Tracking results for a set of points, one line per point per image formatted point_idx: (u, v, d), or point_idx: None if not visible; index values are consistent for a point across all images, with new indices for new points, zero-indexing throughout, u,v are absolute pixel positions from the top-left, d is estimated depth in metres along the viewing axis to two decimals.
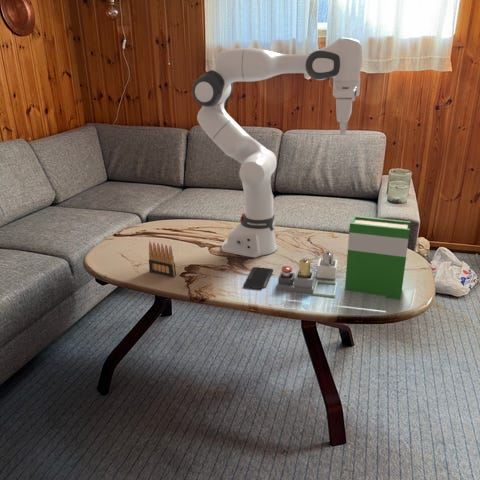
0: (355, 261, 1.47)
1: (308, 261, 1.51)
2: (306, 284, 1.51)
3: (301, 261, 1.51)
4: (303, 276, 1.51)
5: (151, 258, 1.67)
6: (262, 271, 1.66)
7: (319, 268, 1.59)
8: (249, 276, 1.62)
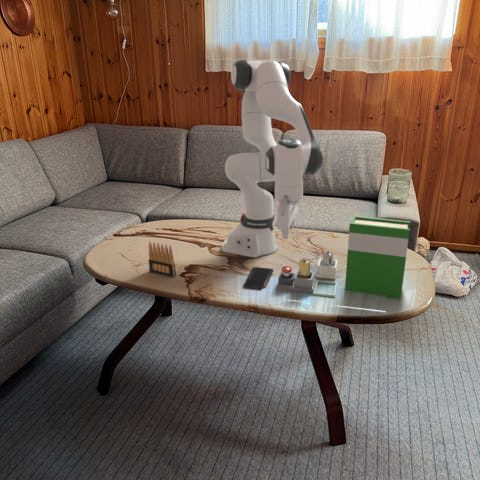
0: (355, 261, 1.47)
1: (308, 261, 1.51)
2: (306, 284, 1.51)
3: (301, 261, 1.51)
4: (303, 276, 1.51)
5: (151, 258, 1.67)
6: (262, 271, 1.66)
7: (319, 268, 1.59)
8: (249, 276, 1.62)
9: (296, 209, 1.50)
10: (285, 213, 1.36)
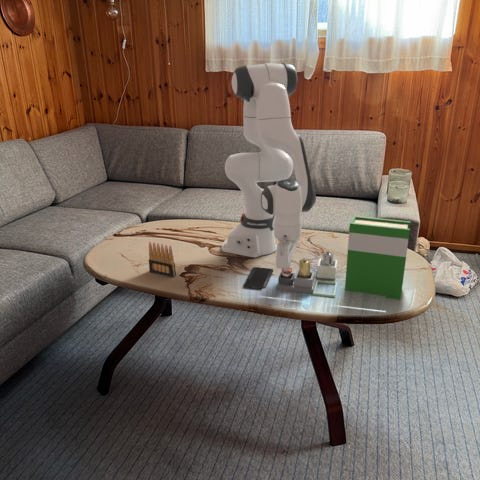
0: (355, 261, 1.47)
1: (308, 261, 1.51)
2: (306, 284, 1.51)
3: (301, 261, 1.51)
4: (303, 276, 1.51)
5: (151, 258, 1.67)
6: (262, 271, 1.66)
7: (319, 268, 1.59)
8: (249, 276, 1.62)
9: (295, 246, 1.55)
10: (284, 253, 1.41)
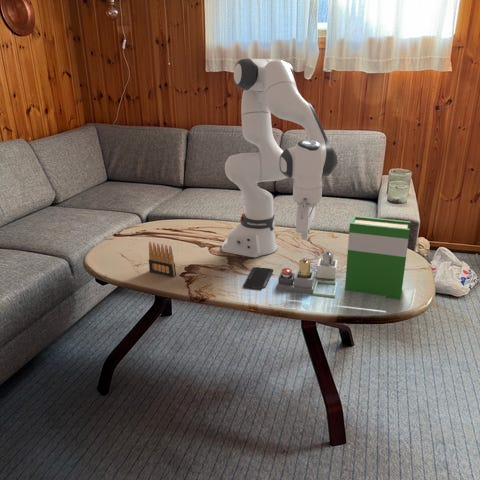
0: (355, 261, 1.47)
1: (308, 261, 1.51)
2: (306, 284, 1.51)
3: (301, 261, 1.51)
4: (303, 276, 1.51)
5: (151, 258, 1.67)
6: (262, 271, 1.66)
7: (319, 268, 1.59)
8: (249, 276, 1.62)
9: (314, 211, 1.49)
10: (304, 216, 1.35)
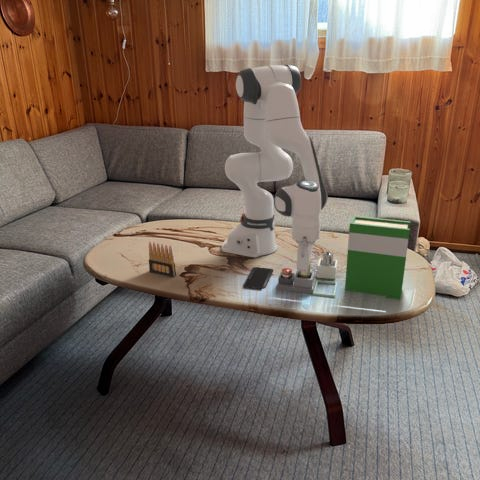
0: (355, 261, 1.47)
1: None
2: (306, 284, 1.51)
3: None
4: (303, 276, 1.51)
5: (151, 258, 1.67)
6: (262, 271, 1.66)
7: (319, 268, 1.59)
8: (249, 276, 1.62)
9: None
10: (305, 255, 1.40)
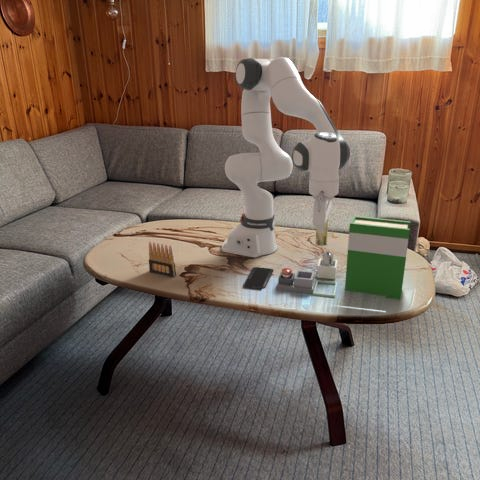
0: (355, 261, 1.47)
1: None
2: (306, 284, 1.51)
3: None
4: (320, 235, 1.44)
5: (151, 258, 1.67)
6: (262, 271, 1.66)
7: (319, 268, 1.59)
8: (249, 276, 1.63)
9: (330, 205, 1.47)
10: (322, 209, 1.33)
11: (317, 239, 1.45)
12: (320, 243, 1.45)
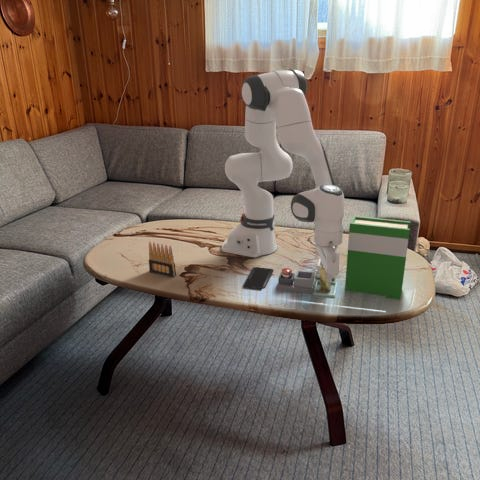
0: (355, 261, 1.47)
1: None
2: (306, 284, 1.51)
3: (323, 269, 1.50)
4: (326, 284, 1.50)
5: (151, 258, 1.67)
6: (262, 271, 1.66)
7: (319, 268, 1.59)
8: (249, 276, 1.63)
9: None
10: (336, 260, 1.38)
11: (322, 287, 1.51)
12: (326, 291, 1.51)
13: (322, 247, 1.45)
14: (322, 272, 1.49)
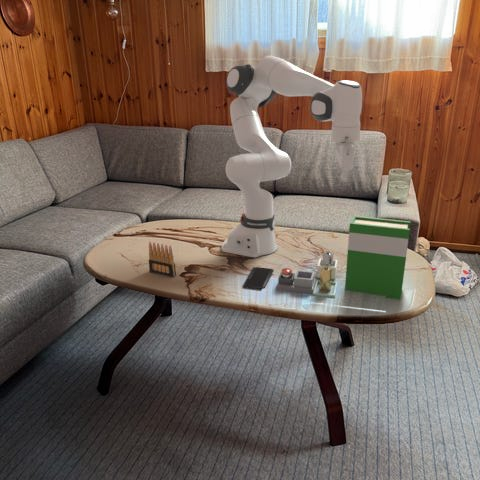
0: (355, 261, 1.47)
1: (329, 268, 1.50)
2: (306, 284, 1.51)
3: (323, 269, 1.50)
4: (326, 284, 1.50)
5: (151, 258, 1.67)
6: (262, 271, 1.66)
7: (319, 268, 1.59)
8: (249, 276, 1.63)
9: None
10: (350, 152, 1.39)
11: (322, 287, 1.51)
12: (326, 291, 1.51)
13: (338, 144, 1.46)
14: (322, 272, 1.49)
